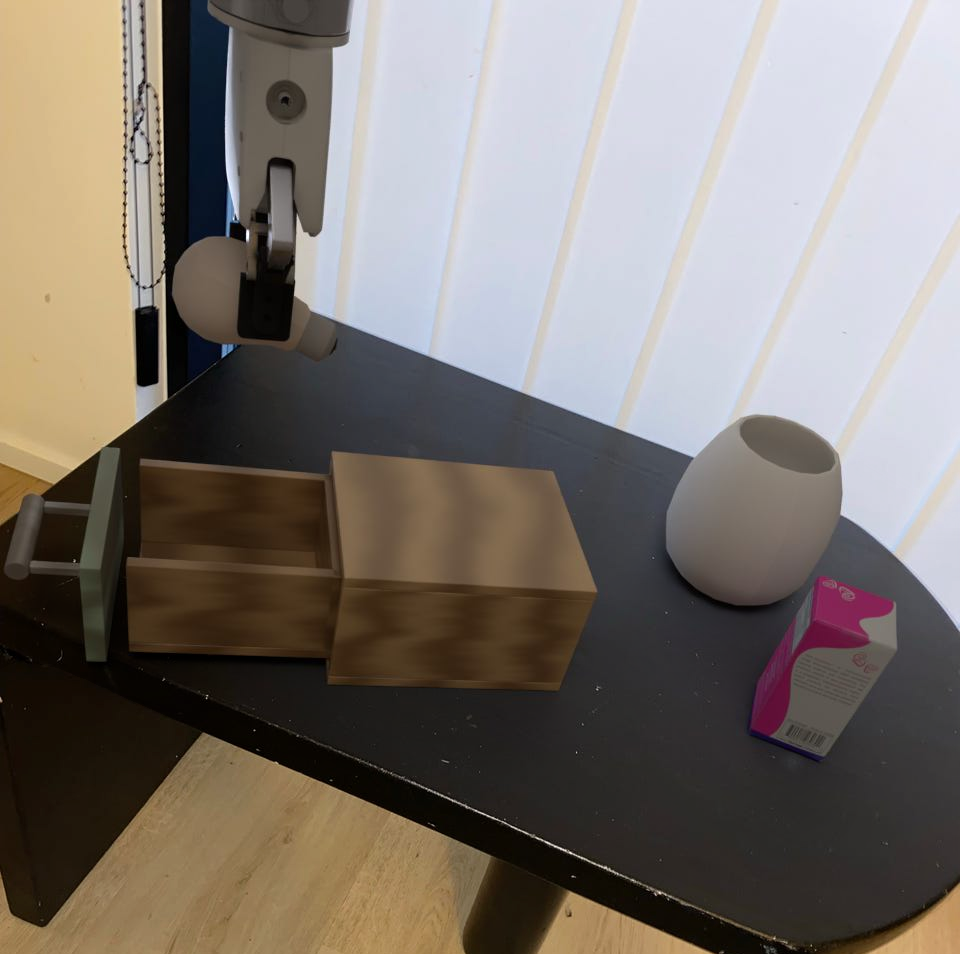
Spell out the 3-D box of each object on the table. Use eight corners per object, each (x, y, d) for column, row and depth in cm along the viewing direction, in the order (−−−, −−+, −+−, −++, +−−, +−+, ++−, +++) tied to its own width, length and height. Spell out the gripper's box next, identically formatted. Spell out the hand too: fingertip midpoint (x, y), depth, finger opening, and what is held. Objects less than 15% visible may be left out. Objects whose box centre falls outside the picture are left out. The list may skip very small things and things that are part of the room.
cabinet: (327, 684, 66) (344, 577, 60) (317, 555, 75) (331, 450, 69) (558, 691, 70) (598, 592, 64) (522, 568, 80) (553, 470, 73)
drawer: (4, 659, 61) (-11, 562, 55) (35, 533, 69) (24, 439, 64) (332, 669, 66) (346, 582, 61) (323, 551, 74) (334, 466, 69)
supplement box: (826, 711, 75) (900, 601, 68) (821, 764, 71) (900, 653, 63) (754, 682, 76) (820, 570, 68) (745, 733, 71) (814, 620, 64)
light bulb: (365, 282, 64) (204, 195, 61) (344, 342, 60) (172, 253, 57) (328, 352, 69) (178, 275, 66) (307, 412, 65) (146, 334, 62)
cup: (773, 538, 91) (840, 413, 82) (812, 636, 82) (893, 506, 73) (639, 516, 89) (692, 385, 80) (663, 614, 79) (726, 478, 70)
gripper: (382, 56, 47) (335, 384, 59) (326, -31, 59) (296, 258, 71) (223, 26, 45) (207, 375, 57) (197, -59, 56) (188, 246, 68)
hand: (256, 308), depth 64 cm, fingers closed on light bulb, 6 cm apart
